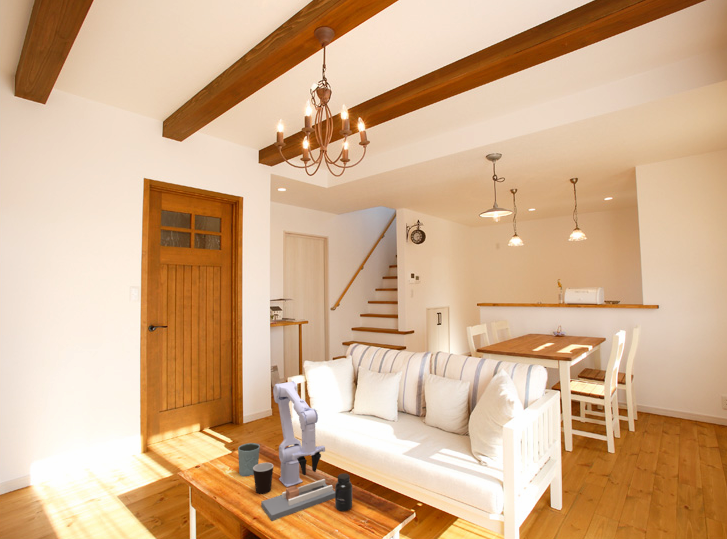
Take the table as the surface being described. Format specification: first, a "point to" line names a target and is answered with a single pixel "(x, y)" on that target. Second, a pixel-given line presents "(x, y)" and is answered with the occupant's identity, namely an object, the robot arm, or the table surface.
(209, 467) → the table surface
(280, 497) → the trap deck
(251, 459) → the grey green planter pot
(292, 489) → the block
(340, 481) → the supplement bottle
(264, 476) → the coffee mug
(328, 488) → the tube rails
